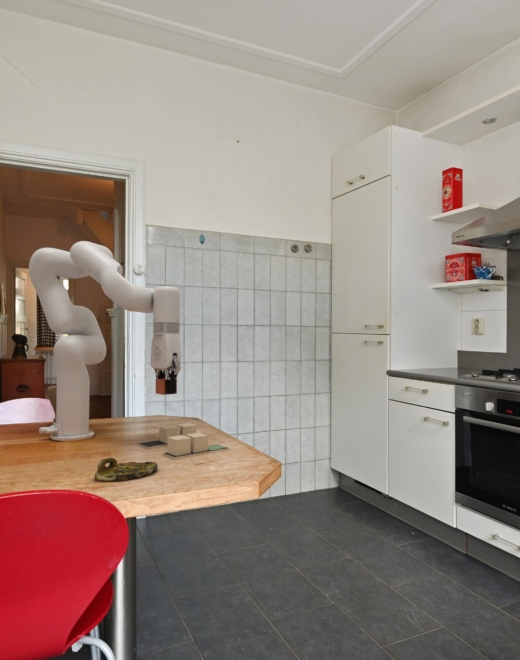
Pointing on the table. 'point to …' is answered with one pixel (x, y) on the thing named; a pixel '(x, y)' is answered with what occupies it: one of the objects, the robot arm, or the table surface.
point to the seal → (122, 470)
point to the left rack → (171, 433)
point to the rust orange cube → (162, 386)
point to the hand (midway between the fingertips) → (166, 392)
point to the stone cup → (53, 398)
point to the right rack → (190, 445)
